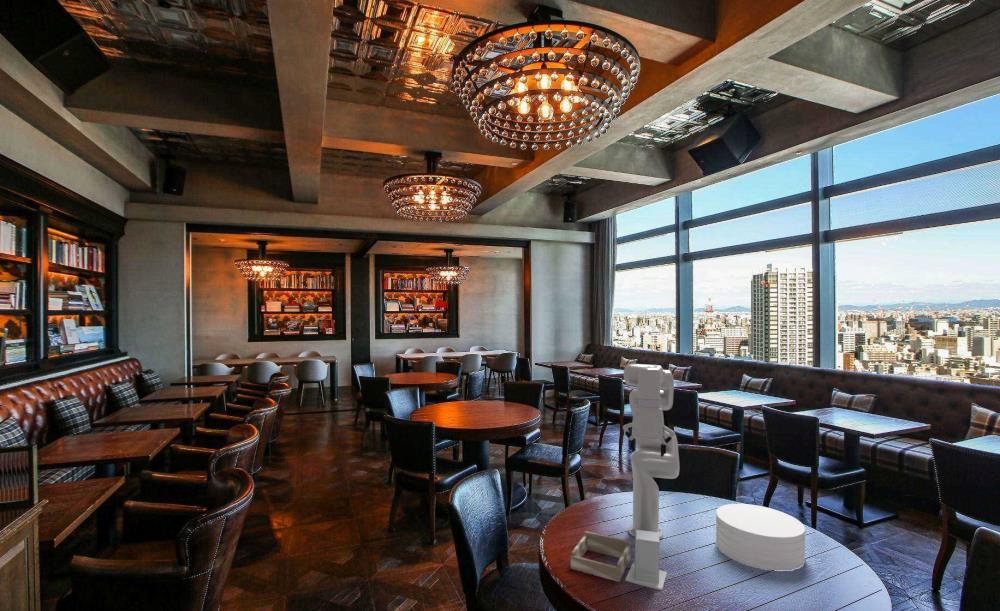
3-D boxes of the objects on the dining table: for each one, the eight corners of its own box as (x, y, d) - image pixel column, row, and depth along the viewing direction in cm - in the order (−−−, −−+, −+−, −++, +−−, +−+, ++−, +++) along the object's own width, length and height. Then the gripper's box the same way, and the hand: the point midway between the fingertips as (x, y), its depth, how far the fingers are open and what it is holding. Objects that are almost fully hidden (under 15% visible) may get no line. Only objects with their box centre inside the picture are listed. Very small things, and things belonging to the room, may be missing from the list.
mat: (632, 564, 160) (632, 563, 160) (667, 573, 155) (667, 571, 155) (625, 580, 150) (625, 579, 150) (661, 590, 145) (661, 589, 145)
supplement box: (659, 583, 149) (660, 542, 149) (634, 579, 151) (635, 538, 151) (658, 571, 156) (658, 532, 156) (634, 567, 158) (635, 528, 158)
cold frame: (585, 547, 171) (585, 530, 171) (630, 559, 164) (630, 541, 164) (570, 568, 157) (570, 550, 157) (619, 581, 150) (619, 562, 150)
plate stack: (719, 527, 191) (720, 498, 191) (802, 545, 177) (803, 514, 177) (711, 557, 166) (712, 524, 167) (807, 581, 152) (807, 545, 153)
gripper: (620, 402, 165) (620, 452, 165) (673, 407, 157) (673, 460, 157) (625, 399, 172) (625, 447, 171) (676, 404, 164) (676, 454, 163)
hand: (647, 453), depth 164 cm, fingers open, 9 cm apart
